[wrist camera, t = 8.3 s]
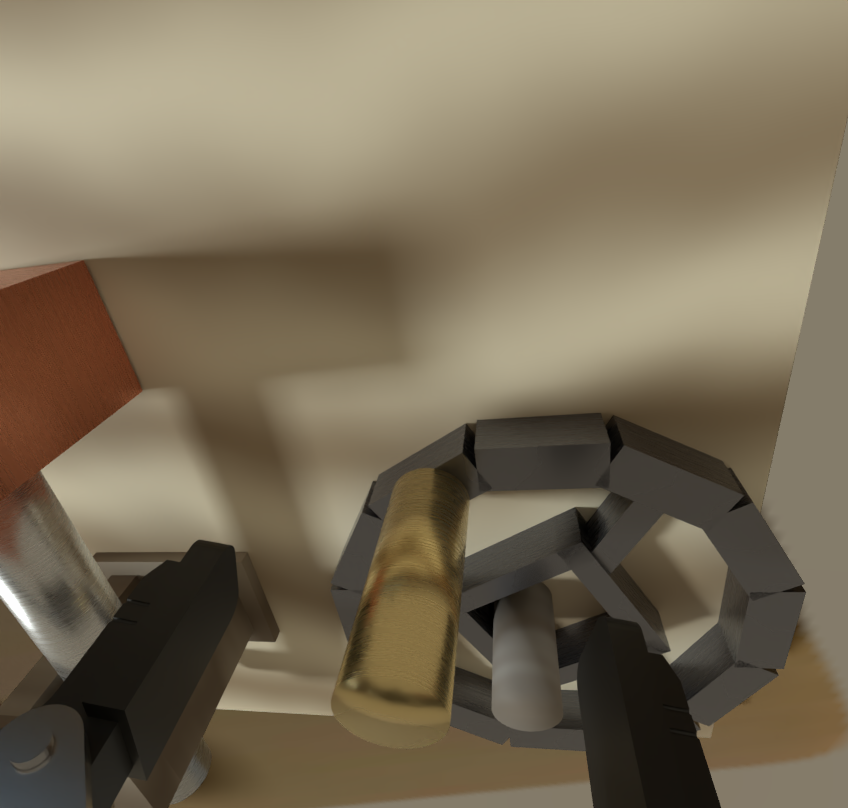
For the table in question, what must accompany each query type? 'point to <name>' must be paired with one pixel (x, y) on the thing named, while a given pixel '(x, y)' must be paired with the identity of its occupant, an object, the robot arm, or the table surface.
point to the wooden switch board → (411, 282)
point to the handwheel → (542, 575)
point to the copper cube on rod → (42, 443)
